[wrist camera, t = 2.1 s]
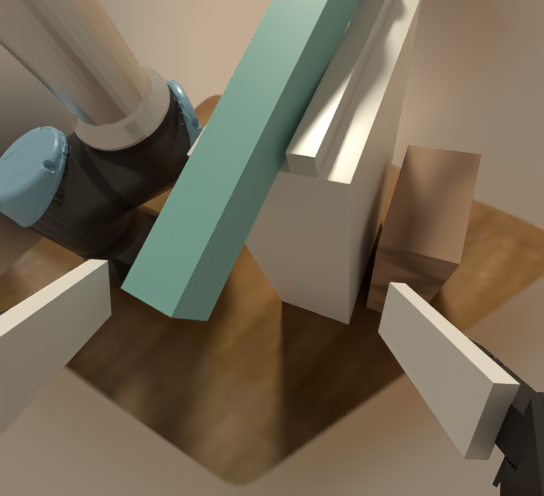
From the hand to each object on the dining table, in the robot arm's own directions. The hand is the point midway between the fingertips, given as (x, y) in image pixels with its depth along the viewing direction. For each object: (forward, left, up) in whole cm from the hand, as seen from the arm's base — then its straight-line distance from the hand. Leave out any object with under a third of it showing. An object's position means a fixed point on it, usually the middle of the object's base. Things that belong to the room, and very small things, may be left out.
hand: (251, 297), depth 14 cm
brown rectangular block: (+7, +15, -29) cm, 33 cm away
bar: (-2, +10, +2) cm, 11 cm away
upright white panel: (-2, +15, -29) cm, 33 cm away
